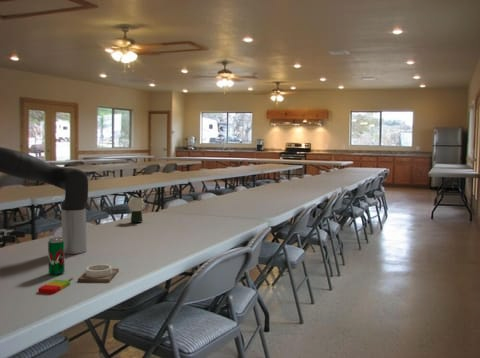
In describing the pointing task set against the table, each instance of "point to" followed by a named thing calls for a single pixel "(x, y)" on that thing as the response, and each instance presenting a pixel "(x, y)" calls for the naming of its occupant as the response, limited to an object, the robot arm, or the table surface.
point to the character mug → (136, 209)
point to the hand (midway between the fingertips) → (20, 236)
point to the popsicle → (54, 286)
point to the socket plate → (98, 273)
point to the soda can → (56, 256)
